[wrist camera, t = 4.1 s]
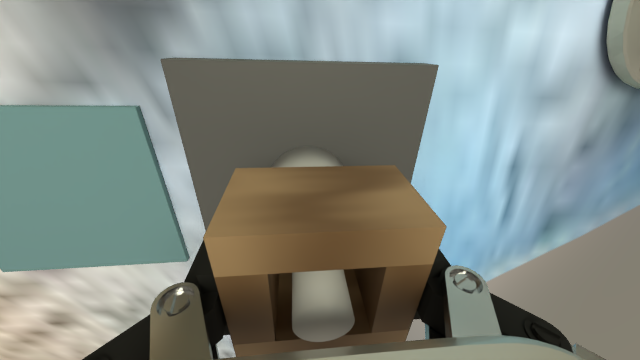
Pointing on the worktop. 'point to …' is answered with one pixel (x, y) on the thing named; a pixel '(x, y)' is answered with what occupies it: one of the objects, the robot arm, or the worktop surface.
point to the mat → (82, 190)
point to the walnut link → (320, 251)
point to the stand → (298, 139)
